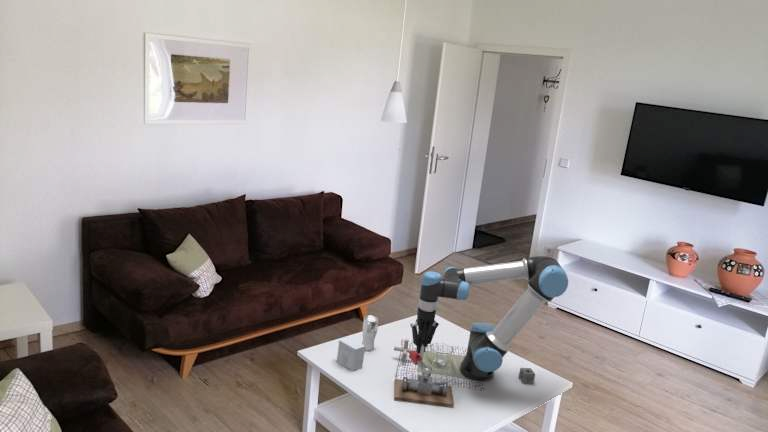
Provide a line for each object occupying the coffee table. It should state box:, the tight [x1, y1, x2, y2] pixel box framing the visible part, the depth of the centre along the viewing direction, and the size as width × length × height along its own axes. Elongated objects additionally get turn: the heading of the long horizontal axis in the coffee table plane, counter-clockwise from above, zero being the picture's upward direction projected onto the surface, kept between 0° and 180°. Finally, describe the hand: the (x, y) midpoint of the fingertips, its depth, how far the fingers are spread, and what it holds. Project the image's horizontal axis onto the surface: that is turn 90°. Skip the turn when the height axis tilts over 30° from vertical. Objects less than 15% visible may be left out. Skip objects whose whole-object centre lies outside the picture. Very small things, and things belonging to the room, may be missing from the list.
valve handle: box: [408, 351, 433, 377], centre depth 256 cm, size 4×16×3 cm, turn 23°
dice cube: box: [518, 367, 536, 385], centre depth 274 cm, size 5×5×5 cm
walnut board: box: [393, 378, 455, 409], centre depth 253 cm, size 24×14×2 cm, turn 89°
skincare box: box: [336, 336, 365, 372], centre depth 269 cm, size 10×6×10 cm, turn 48°
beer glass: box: [361, 314, 379, 352], centre depth 284 cm, size 7×7×15 cm
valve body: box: [402, 374, 448, 396], centre depth 252 cm, size 18×6×8 cm, turn 89°
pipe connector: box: [393, 338, 416, 362], centre depth 278 cm, size 10×10×10 cm
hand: (419, 359), depth 262 cm, fingers closed
